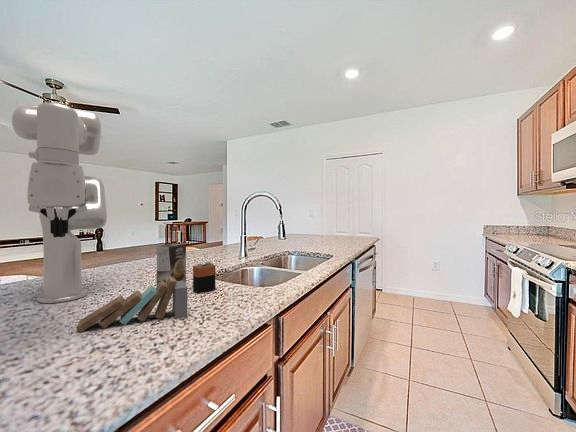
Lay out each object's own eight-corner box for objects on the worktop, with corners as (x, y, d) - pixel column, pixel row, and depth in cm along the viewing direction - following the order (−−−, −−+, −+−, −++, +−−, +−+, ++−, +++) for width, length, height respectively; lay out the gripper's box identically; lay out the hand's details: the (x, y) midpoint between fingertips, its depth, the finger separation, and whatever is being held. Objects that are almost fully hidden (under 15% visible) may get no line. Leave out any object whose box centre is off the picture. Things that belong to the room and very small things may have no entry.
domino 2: (99, 324, 65) (137, 294, 69) (101, 317, 69) (137, 289, 73) (103, 328, 66) (141, 299, 69) (106, 321, 70) (141, 294, 74)
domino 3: (119, 321, 67) (151, 289, 70) (120, 314, 71) (151, 284, 75) (124, 325, 68) (156, 293, 71) (125, 318, 72) (155, 288, 75)
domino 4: (137, 319, 69) (162, 284, 71) (138, 312, 73) (161, 280, 76) (143, 322, 70) (168, 287, 72) (143, 315, 74) (166, 283, 76)
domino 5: (156, 317, 71) (170, 280, 72) (155, 311, 75) (169, 276, 77) (162, 318, 72) (176, 282, 73) (161, 312, 76) (174, 278, 77)
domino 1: (76, 327, 63) (119, 300, 67) (80, 319, 67) (121, 294, 71) (80, 332, 63) (123, 305, 67) (84, 324, 68) (124, 299, 72)
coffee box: (172, 292, 95) (172, 246, 94) (155, 291, 96) (155, 245, 96) (186, 285, 104) (186, 243, 103) (171, 284, 105) (171, 243, 105)
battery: (216, 290, 98) (216, 262, 98) (198, 294, 93) (198, 265, 93) (209, 287, 101) (209, 260, 101) (192, 291, 96) (192, 263, 96)
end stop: (175, 318, 72) (175, 288, 72) (172, 309, 79) (172, 281, 79) (187, 316, 73) (187, 287, 73) (183, 307, 80) (183, 280, 80)
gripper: (8, 153, 57) (9, 239, 58) (94, 159, 64) (95, 237, 65) (23, 158, 64) (24, 236, 64) (99, 164, 71) (100, 234, 71)
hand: (59, 236), depth 65 cm, fingers closed
